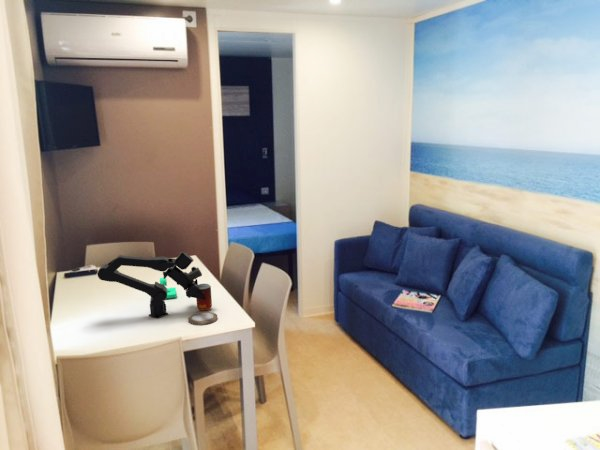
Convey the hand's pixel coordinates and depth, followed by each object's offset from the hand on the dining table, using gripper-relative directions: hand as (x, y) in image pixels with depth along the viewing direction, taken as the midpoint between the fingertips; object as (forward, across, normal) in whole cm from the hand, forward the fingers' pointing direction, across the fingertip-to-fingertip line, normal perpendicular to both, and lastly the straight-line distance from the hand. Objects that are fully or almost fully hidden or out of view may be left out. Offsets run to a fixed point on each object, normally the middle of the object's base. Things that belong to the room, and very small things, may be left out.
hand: (204, 296), depth 238 cm
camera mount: (-7, +27, +17) cm, 33 cm away
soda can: (+5, 0, +5) cm, 7 cm away
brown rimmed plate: (+3, -13, +6) cm, 14 cm away
